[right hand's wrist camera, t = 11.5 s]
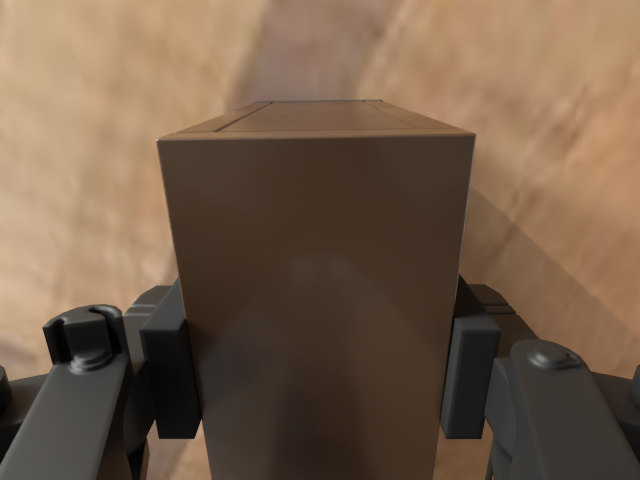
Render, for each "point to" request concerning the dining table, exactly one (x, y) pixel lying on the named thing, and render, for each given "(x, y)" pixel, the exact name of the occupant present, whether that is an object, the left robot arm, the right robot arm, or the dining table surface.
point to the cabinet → (319, 284)
